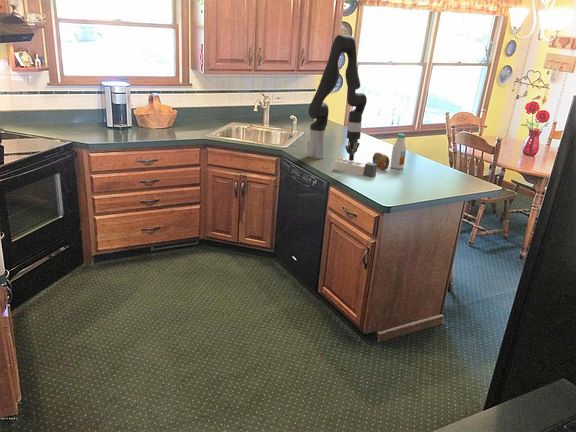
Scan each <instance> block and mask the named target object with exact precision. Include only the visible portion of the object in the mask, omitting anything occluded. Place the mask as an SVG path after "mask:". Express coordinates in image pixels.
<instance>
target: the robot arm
mask: <svg viewBox="0 0 576 432" xmlns="http://www.w3.org/2000/svg"><path fill="white" fill-rule="evenodd" d="M342 54H346V56H347V66H346V69H345V81H346V87H347V90H346V91H347V94H346V97H347V98H346V100H347V101H346V102H347V104H348V105H349V106H350V107H353V108H354V107H355V108H354V109H353V110H350V112H349V115H348V123H347V128H346V139H348V141H347V144H346V145H345V150H346V153H347V154H349V155H348V160H350V161H354V159H355V154H356V153H357V152H358V149H359V147H360V142H359V140H360V139H361V133H362V120H363V114H364V111H365V108H366V106H367V101H368V100H367V99H368V98H367V95H366V94H365V93H363V92H356V90H358V89H360V88H361V80H360V76H359V71H358V64H357V63H358V61H357V45H356V39H355V37H354V36H353V35H348V34H347V35H346V34H337V35H336V36H335V37H334V39H333V43H332V45H331V49H330V52H329V56H328V59H327V62H326V65H325V68H324V70H323V74H322V76H321V79H320V82H319V84H318V87H317V89H316V92H315V94H314V96H313V98H312V101H310V104H309V107H308V115H309V117H310V119H314V120H315V121H314V122H312V123H310V127H309V129H310V130H309V140H308V141H307V147H306V148H307V149H306V157H308V158H309V159H314V160H315V159H316V160H320V159H323V158H324V149H325V140H326V139H325V136H326V127H327V125H328V121H329V120H328V119H329V106H328V103H327V102H324V101H325V99H326V98H327V97H328V96H329V95H330V94H331V92H333V91H334V89H335V88H336V86H337V84H338V81H339V79H340V68H339V60H340V56H341V55H342Z"/></svg>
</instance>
